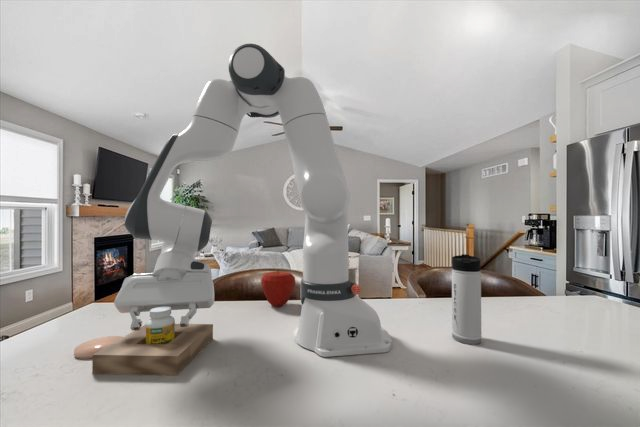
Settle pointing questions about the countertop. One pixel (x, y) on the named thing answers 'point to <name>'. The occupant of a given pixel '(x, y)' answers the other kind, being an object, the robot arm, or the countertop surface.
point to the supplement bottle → (160, 326)
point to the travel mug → (466, 299)
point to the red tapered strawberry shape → (278, 287)
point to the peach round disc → (94, 346)
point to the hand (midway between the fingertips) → (160, 327)
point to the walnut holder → (152, 352)
